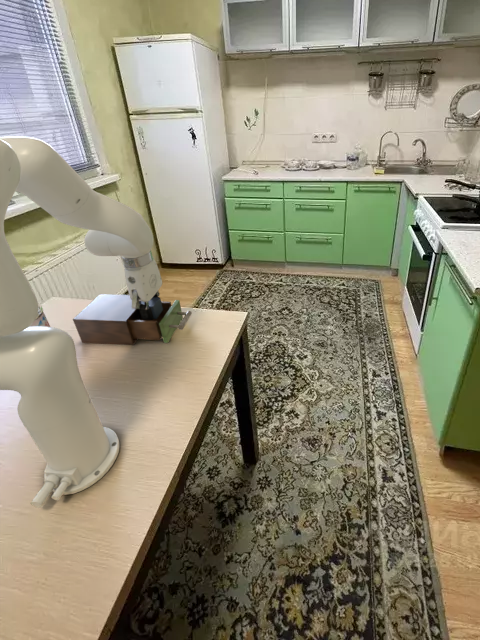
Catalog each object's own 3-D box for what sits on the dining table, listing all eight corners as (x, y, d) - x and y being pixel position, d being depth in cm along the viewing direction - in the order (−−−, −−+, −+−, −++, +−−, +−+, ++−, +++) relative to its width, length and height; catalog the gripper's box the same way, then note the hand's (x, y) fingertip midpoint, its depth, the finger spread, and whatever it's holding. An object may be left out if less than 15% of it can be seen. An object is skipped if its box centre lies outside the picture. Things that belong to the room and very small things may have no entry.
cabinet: (153, 317, 103) (147, 295, 99) (133, 345, 92) (125, 321, 88) (107, 316, 105) (100, 294, 101) (82, 343, 94) (72, 319, 90)
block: (156, 319, 92) (153, 306, 90) (141, 318, 93) (138, 305, 91) (163, 309, 96) (160, 297, 94) (149, 309, 97) (145, 297, 95)
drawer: (196, 318, 101) (192, 300, 98) (182, 343, 91) (178, 324, 88) (139, 316, 103) (134, 298, 100) (119, 340, 93) (112, 321, 90)
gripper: (134, 274, 78) (151, 333, 87) (164, 245, 93) (176, 297, 102) (105, 274, 79) (124, 332, 87) (139, 244, 94) (153, 296, 102)
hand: (152, 313), depth 94 cm, fingers closed on block, 4 cm apart
